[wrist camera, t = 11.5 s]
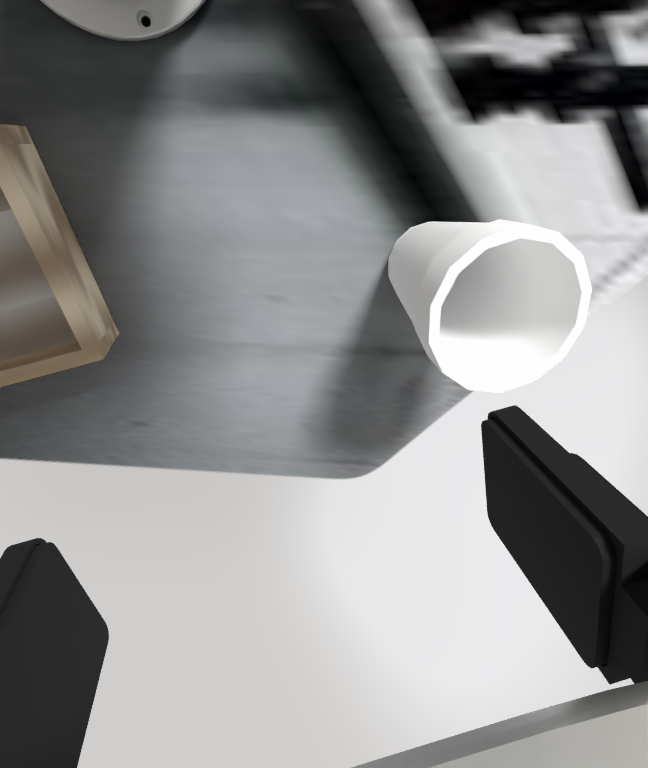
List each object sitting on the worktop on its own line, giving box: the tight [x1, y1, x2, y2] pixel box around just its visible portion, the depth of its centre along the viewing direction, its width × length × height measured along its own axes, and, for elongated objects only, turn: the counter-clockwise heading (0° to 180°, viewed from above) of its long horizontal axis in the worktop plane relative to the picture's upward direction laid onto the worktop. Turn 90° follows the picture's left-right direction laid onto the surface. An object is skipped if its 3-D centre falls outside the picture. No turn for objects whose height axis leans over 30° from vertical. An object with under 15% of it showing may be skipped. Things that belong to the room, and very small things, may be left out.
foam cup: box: [388, 219, 592, 393], centre depth 32 cm, size 10×9×13 cm
